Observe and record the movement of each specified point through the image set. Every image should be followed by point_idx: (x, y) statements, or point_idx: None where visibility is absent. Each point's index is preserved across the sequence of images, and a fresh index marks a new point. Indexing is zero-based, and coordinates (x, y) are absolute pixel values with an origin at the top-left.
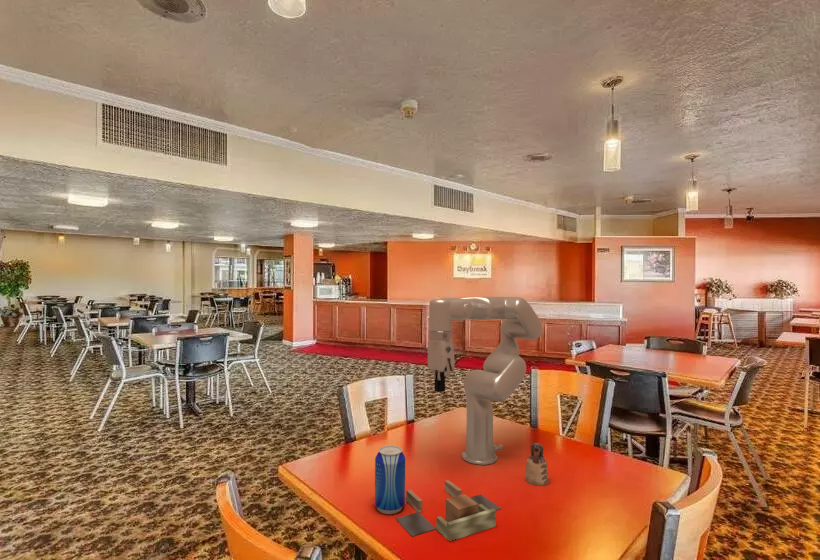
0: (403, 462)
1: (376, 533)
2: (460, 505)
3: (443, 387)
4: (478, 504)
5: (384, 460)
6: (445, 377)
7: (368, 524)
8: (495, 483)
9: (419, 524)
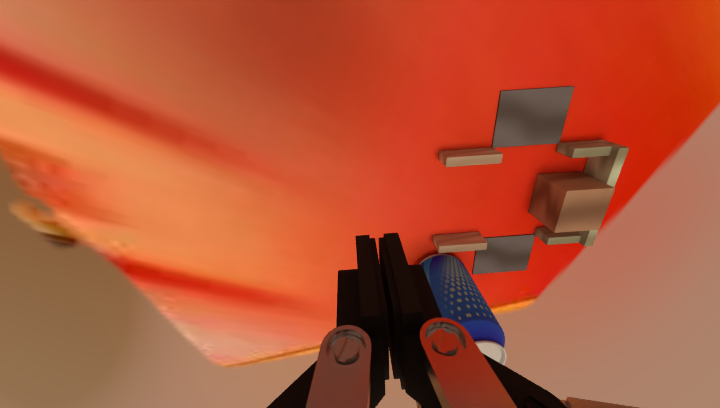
0: (500, 326)
1: (487, 303)
2: (591, 220)
3: (423, 277)
4: (529, 125)
5: None
6: (500, 369)
7: None
8: (478, 5)
9: (509, 251)
